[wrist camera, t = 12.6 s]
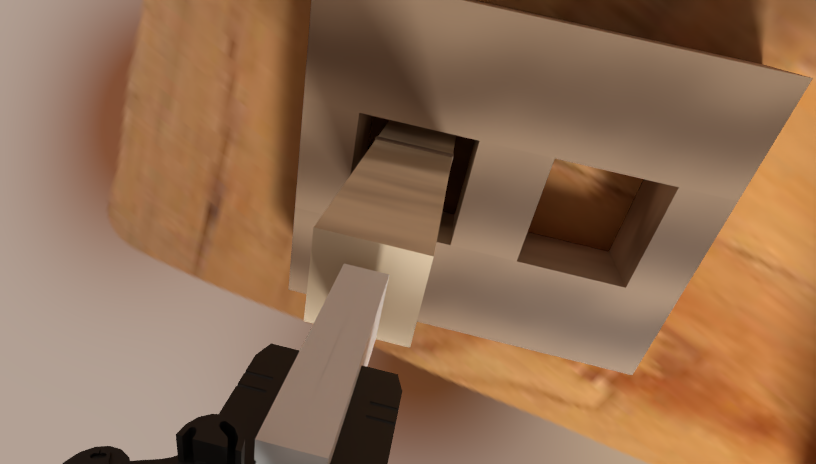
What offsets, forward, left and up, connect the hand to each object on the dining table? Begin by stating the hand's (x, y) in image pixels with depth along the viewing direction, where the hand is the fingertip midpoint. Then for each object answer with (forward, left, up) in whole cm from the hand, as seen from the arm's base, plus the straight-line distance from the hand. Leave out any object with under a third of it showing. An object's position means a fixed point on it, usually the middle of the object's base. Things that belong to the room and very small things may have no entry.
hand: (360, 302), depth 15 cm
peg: (0, 0, -15) cm, 15 cm away
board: (0, +5, -15) cm, 15 cm away
